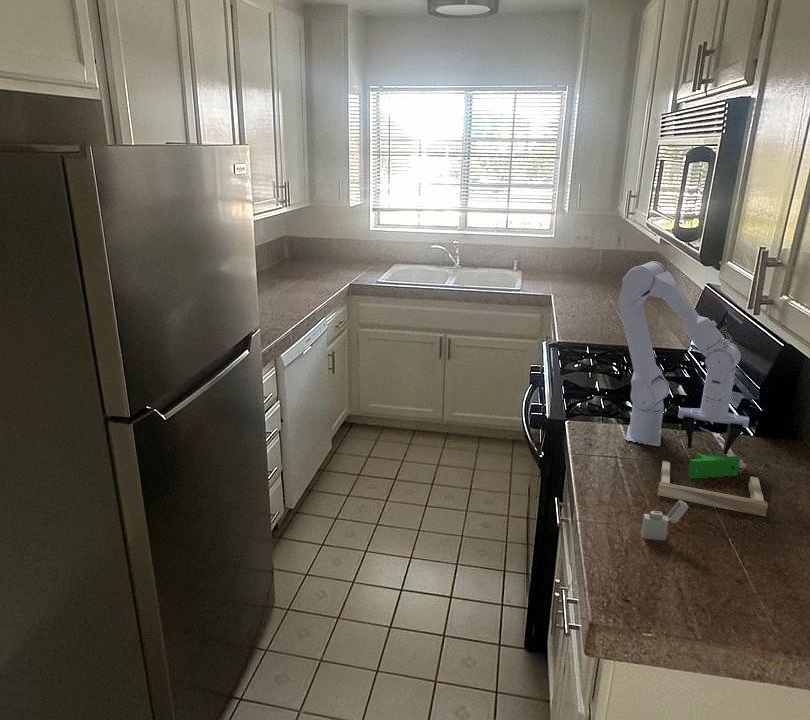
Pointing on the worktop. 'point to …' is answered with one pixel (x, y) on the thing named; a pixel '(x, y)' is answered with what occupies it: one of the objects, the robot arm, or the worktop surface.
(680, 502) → the lighter
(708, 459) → the pipe clamp
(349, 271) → the worktop surface
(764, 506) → the frame
